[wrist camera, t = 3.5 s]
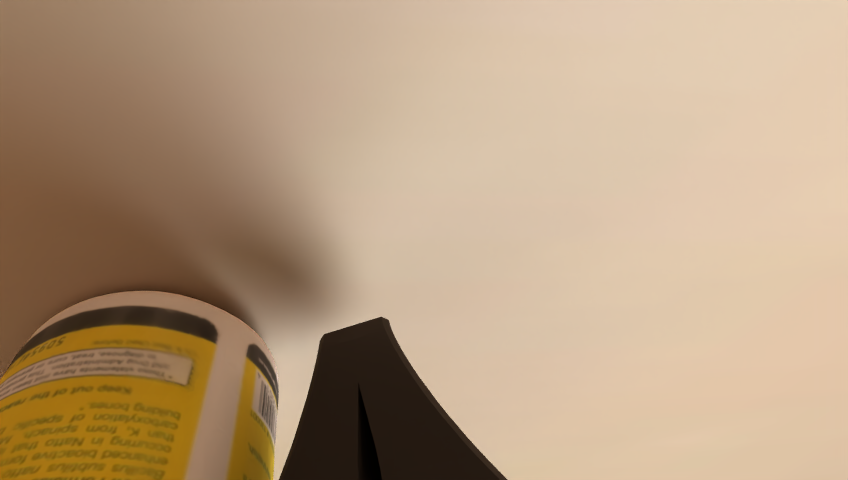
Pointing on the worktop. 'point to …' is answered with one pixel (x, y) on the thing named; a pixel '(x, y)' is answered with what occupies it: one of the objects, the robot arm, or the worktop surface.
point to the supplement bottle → (140, 394)
